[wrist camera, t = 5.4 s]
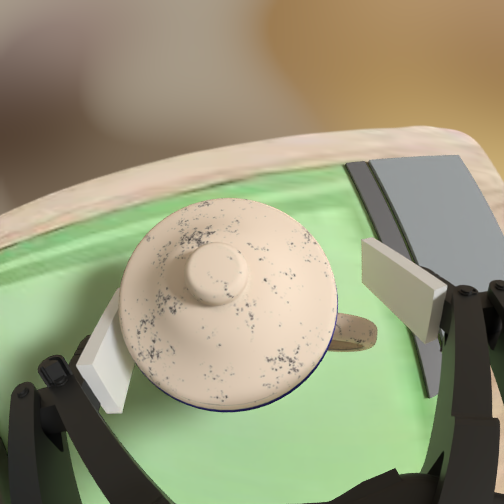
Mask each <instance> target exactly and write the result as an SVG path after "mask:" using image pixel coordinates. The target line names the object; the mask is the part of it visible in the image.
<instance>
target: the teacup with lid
mask: <svg viewBox="0 0 504 504" xmlns="http://www.w3.org/2000/svg"><path fill="white" fill-rule="evenodd" d="M118 312H119V322H120V326H121V331H122V335H123V338H124V341H125V343H126V346H127V348H128V350H129V352H130V354H131V356H132V358H133V360H134V361H135V363H136V365H137V366H138V367H139V369H140V370H141V372H142V373H143V374H144V375H145V376H146V377H147V378H148V379H149V381H151V382H152V383H153V384H154V385H155V386H156V387H157V388H158V389H160V390H161V391H163V392H164V393H165V394H167V395H168V396H170V397H172V398H173V399H175V400H177V401H179V402H182V403H184V404H186V405H189V406H192V407H195V408H198V409H203V410H207V411H214V412H240V411H247V410H252V409H256V408H260V407H263V406H266V405H268V404H271V403H273V402H275V401H277V400H279V399H281V398H283V397H285V396H286V395H288V394H290V393H291V392H292V391H294V390H295V389H296V388H298V387H299V386H300V385H301V384H302V383H303V382H304V381H306V380H307V379H308V378H309V376H310V375H311V374H312V373H313V372H314V371H315V369H316V368H317V367H318V365H319V364H320V362H321V361H322V359H323V358H324V356H325V354H326V352H327V351H334V352H353V351H362V350H366V349H369V348H371V347H373V346H374V345H375V343H376V340H377V327H376V325H375V324H374V323H373V322H371V321H369V320H367V319H365V318H362V317H358V316H354V315H349V314H342V313H338V295H337V288H336V283H335V279H334V275H333V272H332V269H331V266H330V263H329V261H328V259H327V257H326V255H325V253H324V251H323V250H322V248H321V246H320V245H319V244H318V242H317V241H316V240H315V238H314V237H313V236H312V235H311V234H310V233H309V232H308V230H307V229H305V228H304V227H303V226H302V225H301V224H300V223H299V222H297V221H296V220H295V219H293V218H292V217H290V216H289V215H287V214H286V213H284V212H282V211H280V210H278V209H276V208H274V207H271V206H269V205H266V204H263V203H260V202H256V201H252V200H247V199H238V198H221V199H212V200H206V201H202V202H198V203H195V204H192V205H189V206H187V207H184V208H182V209H180V210H178V211H176V212H174V213H172V214H171V215H169V216H167V217H166V218H164V219H163V220H162V221H160V222H159V223H158V224H157V225H156V226H154V227H153V228H152V229H151V230H150V231H149V232H148V233H147V234H146V235H145V236H144V238H143V239H142V240H141V241H140V243H139V244H138V245H137V247H136V249H135V250H134V252H133V253H132V255H131V257H130V259H129V261H128V263H127V266H126V268H125V271H124V274H123V277H122V280H121V285H120V290H119V300H118Z"/></svg>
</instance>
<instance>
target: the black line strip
mask: <svg viewBox="0 0 504 504" xmlns="http://www.w3.org/2000/svg"><path fill="white" fill-rule="evenodd" d="M346 167H347V169H348V171H349V173H350V175H351V177H352V180H353V182H354V184H355V186H356V188H357V190H358V192H359V194H360V196H361V198H362V201H363V203H364V205H365V207H366V209H367V212H368V214H369V216H370V219H371V221H372V223H373V225H374V228H375V230H376V233H377V235H378V237H379V240H380V242H381V243H383V244H385V245H386V246H388V247H389V248H391V249H393V250H394V251H396V252H398V253H399V254H401V255H402V256H404V257H405V258H407V259H409V260H410V261H412V260H411V258H410V255H409V253H408V250H407V248H406V246H405V243H404V241H403V238H402V236H401V234H400V232H399V229H398V227H397V225H396V223H395V220H394V218H393V216H392V214H391V212H390V210H389V208H388V205H387V203H386V201H385V199H384V197H383V195H382V193H381V191H380V189H379V187H378V185H377V183H376V181H375V179H374V178H373V176H372V174H371V172H370V170H369V168H368V166H367V164H366V163H365V161H361V162H351V163H346ZM412 334H413V338H414V341H415V345H416V349H417V352H418V356H419V360H420V364H421V368H422V372H423V376H424V381H425V385H426V390H427V394H428V398H432V397H434V396H435V395H437V394H438V391H439V383H440V373H441V362H442V352H440V344H439V341H438V337H437V339H436V340H433V341H431V342H429V343H427V344H424V343H423V342H422V341H421V340H420V339H419V338H418V337H417V336H416V335H415V334H414V333H413V332H412Z"/></svg>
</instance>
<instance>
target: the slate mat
mask: <svg viewBox="0 0 504 504" xmlns="http://www.w3.org/2000/svg"><path fill="white" fill-rule="evenodd" d="M368 163H369V165H370V167H371V169H372V171H373V172H374V174H375V176H376V178H377V180H378V182H379V184H380V186H381V188H382V190H383V192H384V194H385V196H386V198H387V200H388V202H389V204H390V206H391V208H392V210H393V212H394V214H395V216H396V219H397V221H398V223H399V225H400V227H401V230H402V232H403V234H404V236H405V239H406V241H407V243H408V246H409V248H410V251H411V253H412V256H413V258H414V261H415V263H416V265H418V266H422V267H426V268H429V269H430V270H432V271H433V272H435V274H438V275H439V276H440V277H442V278H444V279H445V280H447V281H448V282H450V283H451V284H453V285H454V286H458V285H469V286H472V287H474V288H475V289H477V290H478V292H484V291H488V287H489V283H490V282H491V281H493V280H503V281H504V236H503V234H502V231H501V229H500V227H499V225H498V223H497V221H496V219H495V217H494V215H493V213H492V211H491V209H490V207H489V205H488V203H487V201H486V200H485V198H484V196H483V194H482V192H481V191H480V189H479V187H478V185H477V184H476V182H475V180H474V179H473V177H472V175H471V174H470V172H469V170H468V169H467V167H466V166H465V164H464V163H463V161H462V160H461V158H460V156H459V155H443V156H419V157H402V158H388V159H376V160H369V162H368ZM439 334H440V337H441V341H443V337H444V331H443V330H442V329H441V328H440V329H439Z"/></svg>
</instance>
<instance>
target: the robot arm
mask: <svg viewBox="0 0 504 504" xmlns="http://www.w3.org/2000/svg"><path fill="white" fill-rule="evenodd" d="M361 245H362V283H363V284H364V285H365V286H366V287H367V288H368V289H369V290H370V291H371V292H372V293H373V294H374V295H376V296H377V297H378V298H379V299H380V300H381V301H382V302H383V303H384V304H385V305H386V306H387V307H388V308H389V309H390V310H391V311H392V312H393V313H394V314H395V315H396V316H397V317H398V318H399V319H400V320H401V321H402V322H403V323H404V324H405V325H406V326H407V327H408V328H409V329H410V330H411V331H412V332H413V333H414V334H415V335H416V336H417V337H418V338H419V339H420V340H421V341H422V342H423V343H424V344H427V343H429V342H431V341H433V340H436V339H437V337H438V333H439V329H440V328H441V329H442V330H443V331H444V337H443V341H442V345H441V348H440V352H442V362H441V373H440V383H439V391H438V398H437V405H436V411H435V417H434V423H433V428H432V433H431V438H430V443H429V447H428V451H427V455H426V459H425V462H424V465H423V467H422V469H421V472H420V473H407V474H400V475H399V474H398V472H397V470H396V469H395V468H394V469H392V470H390V471H388V472H385V473H383V474H381V475H378V476H376V477H373V478H371V479H368V480H366V481H363V482H362V483H360V484H358V485H357V486H355V487H354V488H352V489H351V490H349V491H347V492H346V493H344V494H342V495H340V496H339V497H337V498H335V499H334V500H332V501H329V502H321V503H304V504H504V494H501V493H496V492H494V490H495V484H496V476H497V467H498V457H499V440H500V422H499V419H498V418H493V417H492V386H491V370H490V365H491V368H492V371H493V373H494V376H495V379H496V382H497V385H498V388H499V391H500V394H501V397H502V401H503V404H504V281H503V280H493V281H491V282H490V283H489V287H488V291H484V292H478V290H477V289H475V288H474V287H472V286H469V285H458V286H454V285H453V284H451V283H450V282H448V281H447V280H445V279H444V278H442V277H440V276H439V275H438V274H435V272H433V271H432V270H430V269H429V268H426V267H422V266H418V265H416V264H415V263H413V262H412V261H410V260H409V259H407V258H405V257H404V256H402V255H401V254H399V253H398V252H396V251H394V250H393V249H391V248H389V247H388V246H386V245H385V244H383V243H381V242H380V241H378V240H376V239H375V238H373V237H371V238H366V239H362V240H361ZM119 290H120V288H117V290H116V292H115V293H114V295H113V297H112V299H111V300H110V302H109V304H108V306H107V307H106V309H105V311H104V313H103V314H102V316H101V318H100V320H99V322H98V324H97V325H96V327H95V329H94V331H93V333H92V335H87V336H86V337H85V338H84V339H83V340H82V341H81V342H80V344H79V346H78V348H77V350H76V352H75V354H74V356H73V357H72V359H71V361H70V363H69V365H68V364H67V362H66V361H65V359H64V357H63V356H61V355H53V356H50V357H48V358H47V359H45V360H44V361H43V362H42V363H41V364H40V365H39V367H38V373H39V375H40V376H41V378H42V379H43V381H44V382H45V384H46V385H47V387H46V388H43V389H39V390H37V389H36V388H35V386H34V385H33V384H32V383H31V382H24V383H22V384H19V385H18V386H17V387H16V388H15V389H14V391H13V392H12V395H11V404H10V415H9V433H8V456H7V453H6V450H5V448H4V445H3V443H2V440H1V438H0V504H82V502H81V499H80V495H79V492H78V488H77V484H76V480H75V476H74V472H73V468H72V463H71V458H70V453H69V448H68V443H67V437H66V431H67V432H68V434H69V436H70V438H71V440H72V442H73V444H74V446H75V448H76V449H77V451H78V453H79V455H80V457H81V458H82V460H83V462H84V464H85V465H86V467H87V469H88V470H89V472H90V474H91V475H92V477H93V479H94V480H95V482H96V483H97V485H98V486H99V488H100V489H101V491H102V492H103V494H104V495H105V497H106V498H107V500H108V501H109V503H110V504H175V503H174V502H173V501H172V500H171V499H170V498H169V497H168V496H167V495H166V494H165V493H164V492H163V491H162V490H161V489H160V488H159V487H158V486H157V484H156V483H155V482H154V481H153V480H152V479H151V478H150V477H149V476H148V475H147V474H146V472H145V471H144V470H143V469H142V468H141V467H140V466H139V464H138V463H137V462H136V461H135V460H134V458H133V457H132V456H131V455H130V454H129V452H128V451H127V450H126V449H125V447H124V446H123V445H122V443H121V442H120V441H119V440H118V438H117V437H116V436H115V434H114V433H113V432H112V430H111V429H110V427H109V426H108V425H107V423H106V422H105V420H104V419H103V417H102V416H101V415H100V413H99V412H98V411H99V408H100V405H101V406H102V408H103V409H104V410H105V412H106V413H107V414H111V413H122V412H123V407H124V403H125V399H126V395H127V391H128V387H129V383H130V379H131V375H132V372H133V368H134V364H135V361H134V360H133V358H132V356H131V354H130V352H129V350H128V348H127V346H126V343H125V341H124V338H123V335H122V331H121V326H120V322H119V312H118V300H119Z"/></svg>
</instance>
